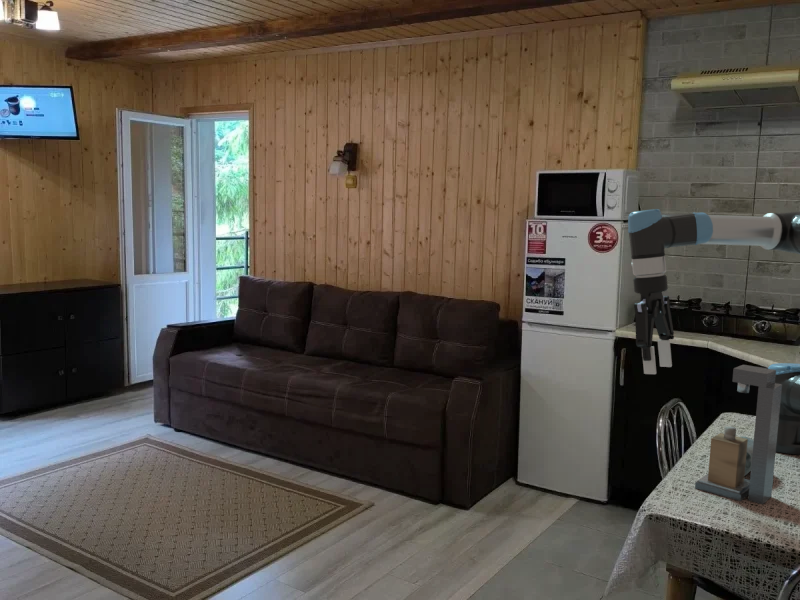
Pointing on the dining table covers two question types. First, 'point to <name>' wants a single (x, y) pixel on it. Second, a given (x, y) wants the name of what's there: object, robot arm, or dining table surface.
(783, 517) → the dining table surface
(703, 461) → the dining table surface
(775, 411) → the press
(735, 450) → the brown bottle
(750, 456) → the blue grey streaked ovoid
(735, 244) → the robot arm
